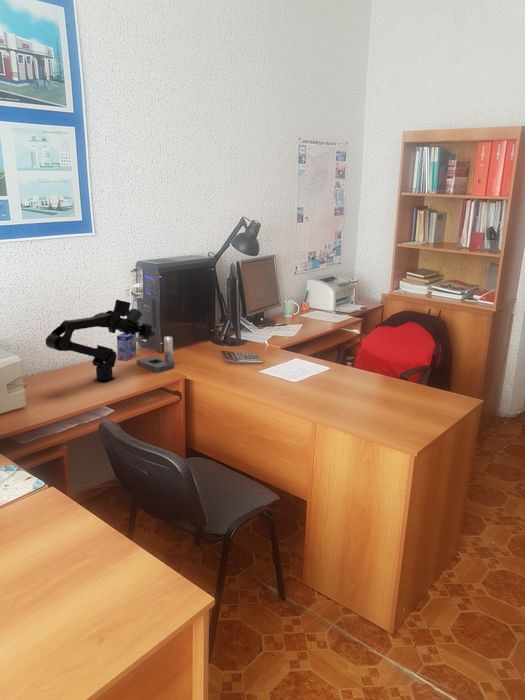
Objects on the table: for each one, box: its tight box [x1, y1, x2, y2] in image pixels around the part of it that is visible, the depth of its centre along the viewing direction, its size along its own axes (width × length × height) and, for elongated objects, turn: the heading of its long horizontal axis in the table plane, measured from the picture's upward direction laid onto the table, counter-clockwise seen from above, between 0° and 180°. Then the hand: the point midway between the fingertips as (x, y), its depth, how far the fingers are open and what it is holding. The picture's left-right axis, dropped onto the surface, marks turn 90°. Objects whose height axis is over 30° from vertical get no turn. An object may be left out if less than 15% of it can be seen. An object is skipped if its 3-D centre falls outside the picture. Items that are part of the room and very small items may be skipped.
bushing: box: [163, 335, 174, 363], centre depth 267 cm, size 4×4×13 cm
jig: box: [136, 355, 175, 374], centre depth 263 cm, size 10×16×2 cm, turn 46°
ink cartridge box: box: [116, 332, 137, 361], centre depth 275 cm, size 10×6×14 cm, turn 163°
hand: (148, 332), depth 260 cm, fingers open, 9 cm apart
